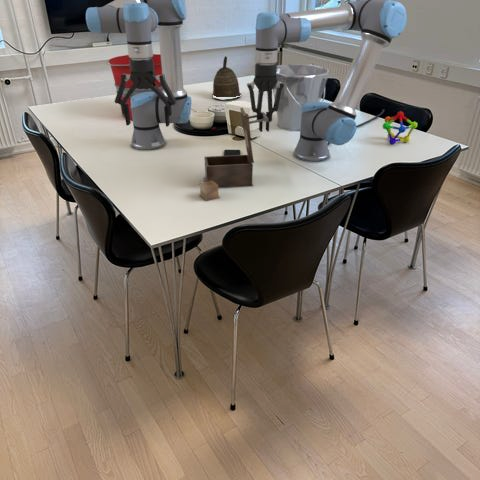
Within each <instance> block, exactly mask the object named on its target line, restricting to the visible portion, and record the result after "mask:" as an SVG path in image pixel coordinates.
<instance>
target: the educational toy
mask: <svg viewBox="0 0 480 480" xmlns="http://www.w3.org/2000/svg"><path fill="white" fill-rule="evenodd" d="M397 119H399V124H400V125H399V127H398V126H393V125H391V124H392V123H394V122H395V121H396V120H397ZM403 120H404V121H405V122H407V123H408V124H409V125H407V126H404V123H403ZM417 127H418V122H417V121H411V120H410V119H409V118H408V117H406V116H405V113H404V112H403V111H401V110H400V111H398V112H397V114H396V115H394V116H391V117H390V116H386V117H385V118H384V122H383V123H382V129H383V130H386V132H387V138H388V142H389V145H395V144H396V143H397V142H402V141H403V142H404V143H409V142H410V140H411V138H410V136H411V134H412V132H413V131H414V130H415V129H417ZM392 129H393V130H397V131H398V132H396V134H395V133H394V132H392ZM408 129H409V131H408V133H407V134H406V135H404V136H401V134H403V133H405V132H406V130H408ZM399 135H400V136H399Z"/></svg>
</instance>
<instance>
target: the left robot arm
mask: <svg viewBox="0 0 480 480" xmlns="http://www.w3.org/2000/svg"><path fill="white" fill-rule="evenodd" d="M186 6H187V5H186V1H185V0H113V1H111V2H109V3H107V4H105V5H103V6H101V7H99V6H95V7H94V6H93V7H91V6H90V7H88V8H87V9H86V11H85V22H86V26H87V28H88V31H90V32H91V33H93V34H100V35H101V34H125V35H126V36H125V38H126V44H127V51H128V52H127V53H128V54H127V55H129V57H130V58H131V59H130V60H129V63H130V71H131V74H130V75H128V74H126V73H124V74H122V75H121V84H120V87H119V89H118V92H116V95H115V98H114V103H115V104H117V105H119V106H120V109H121V115H122V116H123V115H125V117H124V119H125V125H126V126H130V125H131V123H132V125H133V132H132V135H131V142H130V143H131V147H132V148H134V149H135V150H141V151H151V150H153V151H154V150H157V149H161V148H163V147H164V146H165V144H166V140H165V137H164V135H163V132H162V130H161V127H160V124H165V127H166V128H168V127H169V126H170V125H171V124H178V125H179V124H187V123H188V122H189V121H190V118H191V111H192V97H191V96H189V95H188V91H187V90H186V89H185V88H184V77H183V67H182V66H183V63H182V48H181V34H180V33H181V31H180V29H181V28H182V26H183V25H184V21H185V20H186V19H187V7H186ZM156 29H157V31H158V42H159V43H158V44H159V50H160V51H159V55H161V65H162V74H161V75H155V72H154V61H153V59H152V58H151V57H153V54H154V52H153V43H152V33H153V32H155V31H156ZM129 79H130V80H131V81H132V82H133V85H132V86H131V88H130V90H129V91H128V92H127V94H126V95H125V97H124V98H123V100H121V97H122V94H123V91H124V89H125V86H126V83H127V81H128V80H129ZM156 79H157V80H158V81H159V82H160V83H161V85H162V87H163V90H162V91H161V90H160V89H159V88H158V86H157V85H156V84H155V83H154V82H155V80H156ZM136 88H138V89H151V90H152V91H154V92H144V93H139V94H136V95H134V96H133V97H132V98H131V111H132V118H133V120H131V119H130V113H129V105H128V104H126V102H127V100H128V99H129V98H130V96H131V95H132V93H133V92H134V91H135V89H136ZM131 121H132V122H131Z"/></svg>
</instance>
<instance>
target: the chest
mask: <svg viewBox="0 0 480 480" xmlns="http://www.w3.org/2000/svg"><path fill="white" fill-rule="evenodd" d="M204 179H205V182H207V181H211V180H212V181H214V182H215V183H216V184H217V185H218V189H219V188H235V187H237V188H238V187H252V186H253V163H251V161H250V159H249V156H248V154H240V155H230V156H224V155H213V156H204Z"/></svg>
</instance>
